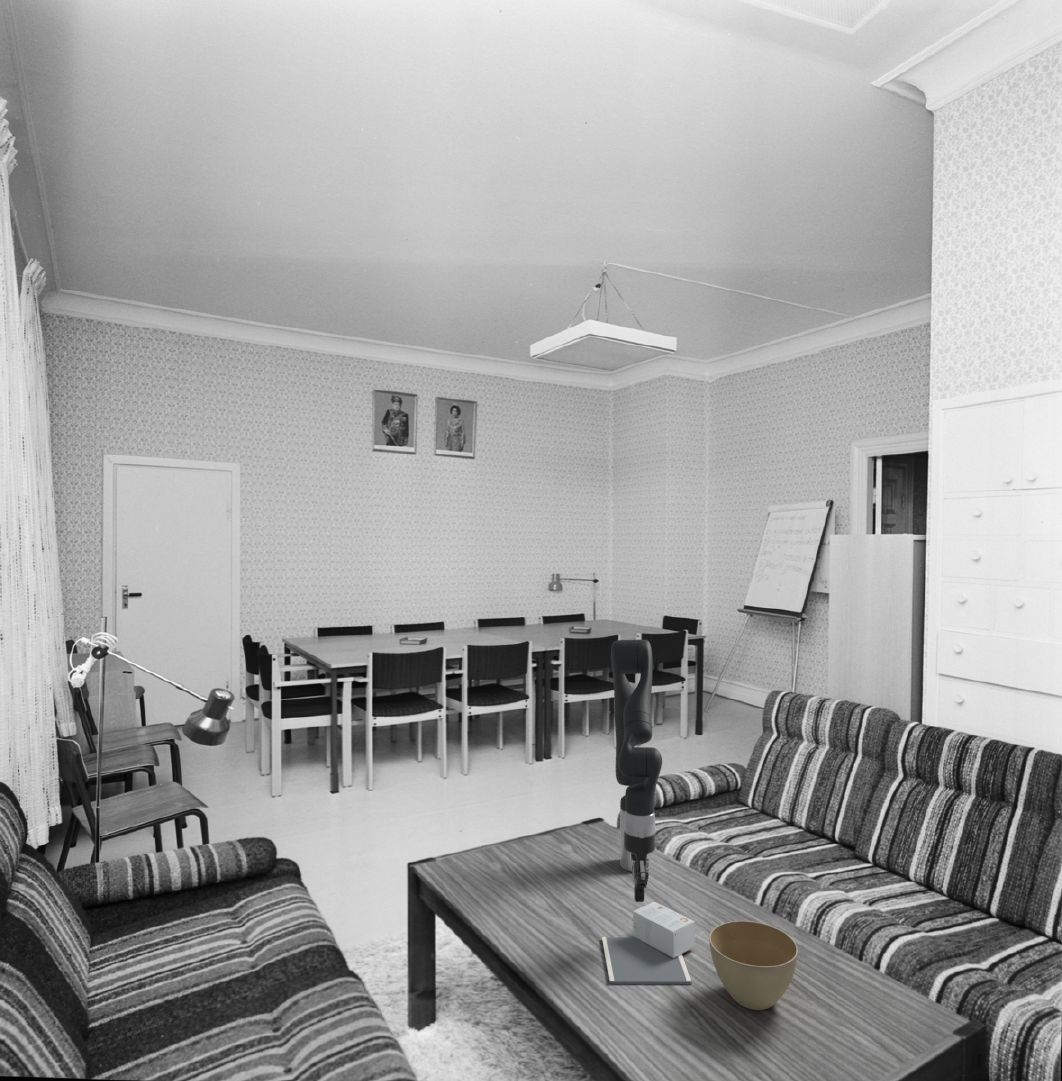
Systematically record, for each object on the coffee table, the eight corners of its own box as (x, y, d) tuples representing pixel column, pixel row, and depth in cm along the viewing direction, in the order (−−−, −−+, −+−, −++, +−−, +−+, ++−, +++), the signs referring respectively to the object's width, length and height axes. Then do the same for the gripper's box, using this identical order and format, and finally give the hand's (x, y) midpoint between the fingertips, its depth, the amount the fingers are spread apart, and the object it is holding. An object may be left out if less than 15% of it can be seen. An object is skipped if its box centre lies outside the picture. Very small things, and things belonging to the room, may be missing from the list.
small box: (632, 936, 184) (673, 959, 174) (632, 910, 184) (672, 931, 174) (654, 926, 189) (695, 947, 179) (654, 900, 189) (695, 920, 179)
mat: (601, 939, 183) (601, 936, 183) (675, 940, 183) (675, 937, 183) (609, 983, 165) (609, 980, 165) (691, 984, 165) (691, 981, 165)
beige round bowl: (736, 964, 173) (736, 911, 173) (812, 999, 160) (812, 942, 160) (692, 997, 160) (693, 941, 160) (771, 1038, 148) (771, 977, 147)
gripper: (620, 819, 189) (620, 887, 189) (627, 840, 176) (627, 914, 176) (650, 819, 189) (650, 887, 189) (659, 840, 176) (659, 914, 176)
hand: (639, 900), depth 182 cm, fingers closed
